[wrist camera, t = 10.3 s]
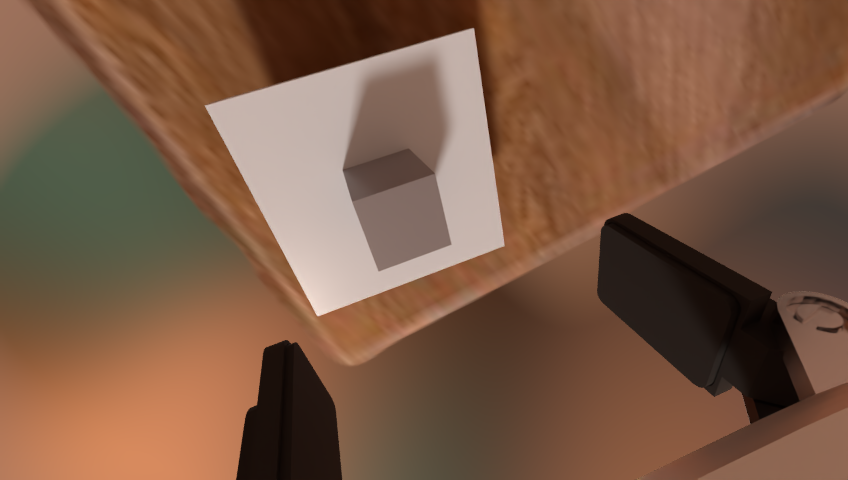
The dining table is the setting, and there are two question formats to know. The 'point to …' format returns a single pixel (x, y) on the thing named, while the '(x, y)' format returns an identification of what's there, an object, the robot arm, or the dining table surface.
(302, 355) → the robot arm
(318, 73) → the lid
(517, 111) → the dining table surface
